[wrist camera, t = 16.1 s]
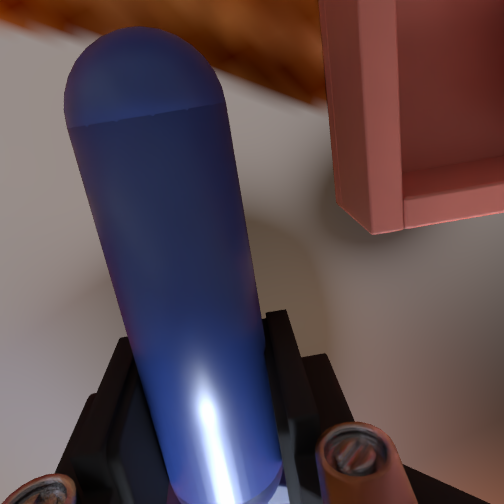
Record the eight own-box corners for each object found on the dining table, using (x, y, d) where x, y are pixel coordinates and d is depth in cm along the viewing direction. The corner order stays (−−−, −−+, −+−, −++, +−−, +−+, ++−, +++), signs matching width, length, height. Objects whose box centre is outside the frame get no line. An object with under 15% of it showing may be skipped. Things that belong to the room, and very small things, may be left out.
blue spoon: (13, 60, 9) (-79, 43, 6) (272, 18, 9) (294, -18, 6) (178, 582, 14) (168, 696, 11) (337, 553, 14) (365, 659, 11)
